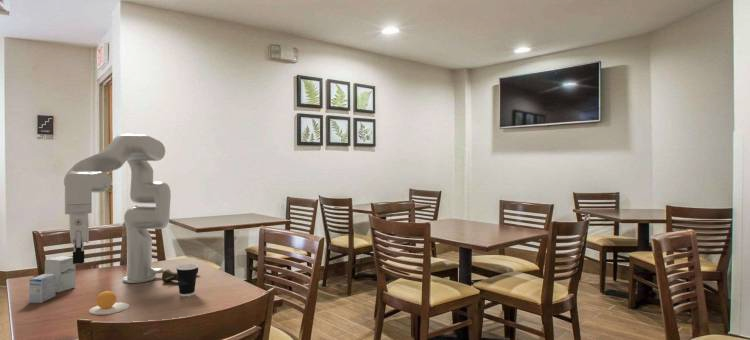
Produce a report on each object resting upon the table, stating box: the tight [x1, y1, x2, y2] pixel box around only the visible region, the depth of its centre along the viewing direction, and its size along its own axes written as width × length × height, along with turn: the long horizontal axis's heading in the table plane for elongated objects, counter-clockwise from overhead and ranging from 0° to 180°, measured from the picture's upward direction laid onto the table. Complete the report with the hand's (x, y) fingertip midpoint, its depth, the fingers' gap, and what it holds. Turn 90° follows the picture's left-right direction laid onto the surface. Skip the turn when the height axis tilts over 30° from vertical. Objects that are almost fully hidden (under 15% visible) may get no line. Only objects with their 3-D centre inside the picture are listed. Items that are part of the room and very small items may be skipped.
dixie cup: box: [175, 263, 199, 297], centre depth 172 cm, size 8×8×11 cm
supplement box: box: [44, 255, 76, 293], centre depth 177 cm, size 7×7×13 cm
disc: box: [88, 302, 130, 316], centre depth 156 cm, size 12×12×1 cm
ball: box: [95, 290, 117, 309], centre depth 156 cm, size 6×6×6 cm
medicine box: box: [28, 273, 56, 304], centre depth 164 cm, size 8×4×9 cm, turn 5°
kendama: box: [161, 266, 199, 283], centre depth 193 cm, size 6×10×20 cm
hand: (78, 263), depth 150 cm, fingers closed
